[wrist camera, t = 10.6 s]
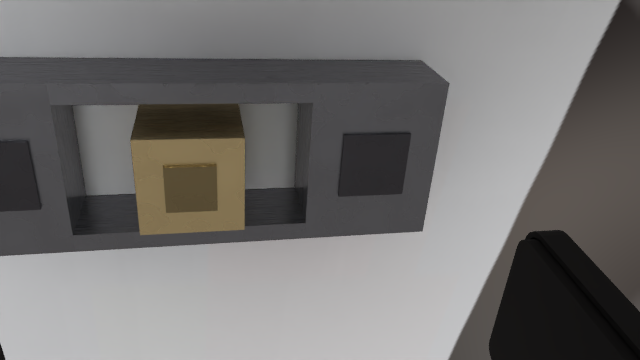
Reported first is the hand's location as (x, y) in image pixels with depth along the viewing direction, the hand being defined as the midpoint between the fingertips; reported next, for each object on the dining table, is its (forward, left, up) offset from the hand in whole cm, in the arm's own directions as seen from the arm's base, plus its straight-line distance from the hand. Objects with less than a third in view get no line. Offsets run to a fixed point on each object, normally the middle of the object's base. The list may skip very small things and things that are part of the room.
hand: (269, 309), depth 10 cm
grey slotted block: (+1, +6, -22) cm, 23 cm away
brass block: (+2, +6, -22) cm, 23 cm away
